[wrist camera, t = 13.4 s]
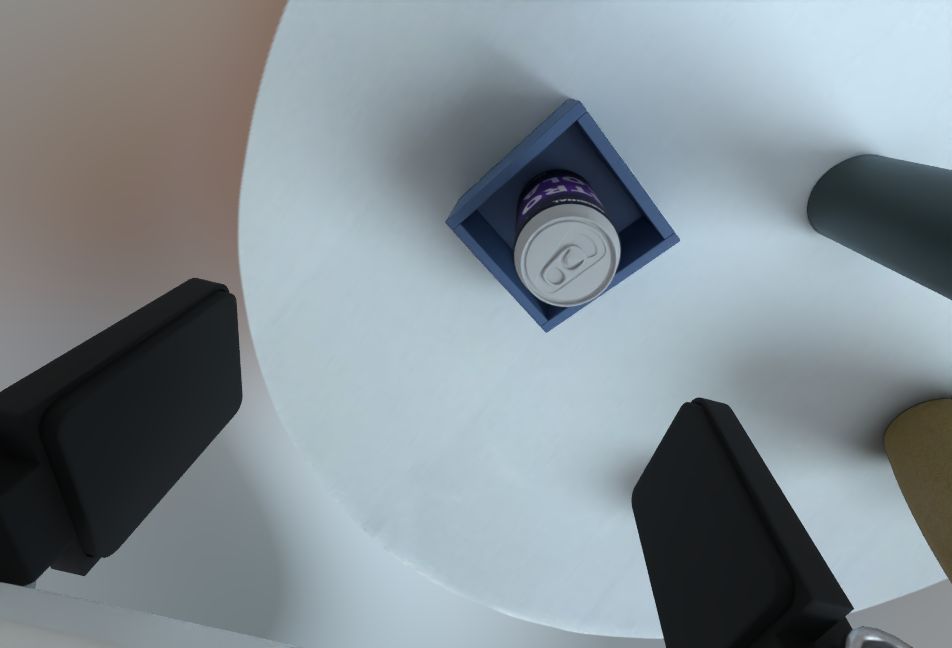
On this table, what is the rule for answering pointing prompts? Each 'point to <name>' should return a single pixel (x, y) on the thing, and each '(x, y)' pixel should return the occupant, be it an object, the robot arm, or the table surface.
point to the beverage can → (564, 240)
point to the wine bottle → (890, 215)
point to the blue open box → (568, 148)
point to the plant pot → (926, 471)
